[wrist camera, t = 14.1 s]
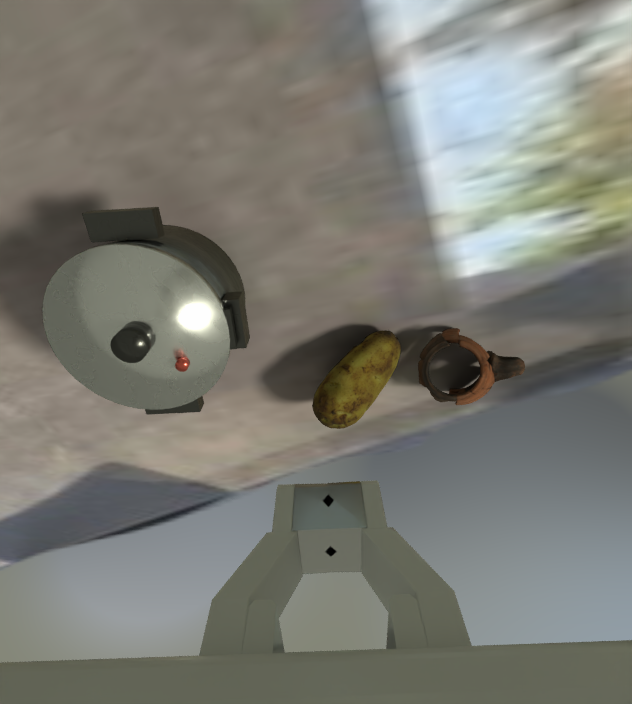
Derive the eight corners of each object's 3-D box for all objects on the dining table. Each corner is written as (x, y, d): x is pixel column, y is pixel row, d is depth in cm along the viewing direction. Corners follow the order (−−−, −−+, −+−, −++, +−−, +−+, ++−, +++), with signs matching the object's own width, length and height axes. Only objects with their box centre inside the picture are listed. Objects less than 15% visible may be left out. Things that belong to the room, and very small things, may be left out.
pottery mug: (429, 401, 53) (422, 415, 46) (415, 334, 53) (406, 338, 45) (526, 388, 49) (536, 402, 41) (511, 315, 48) (519, 315, 41)
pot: (80, 204, 41) (16, 218, 32) (243, 194, 40) (223, 206, 32) (135, 375, 50) (97, 422, 42) (266, 368, 50) (256, 414, 41)
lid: (18, 248, 32) (-11, 258, 29) (219, 236, 32) (211, 244, 29) (84, 408, 40) (66, 429, 37) (246, 398, 40) (242, 418, 37)
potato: (414, 367, 50) (430, 403, 43) (328, 408, 53) (330, 447, 46) (386, 316, 47) (399, 346, 40) (296, 363, 50) (293, 398, 43)
